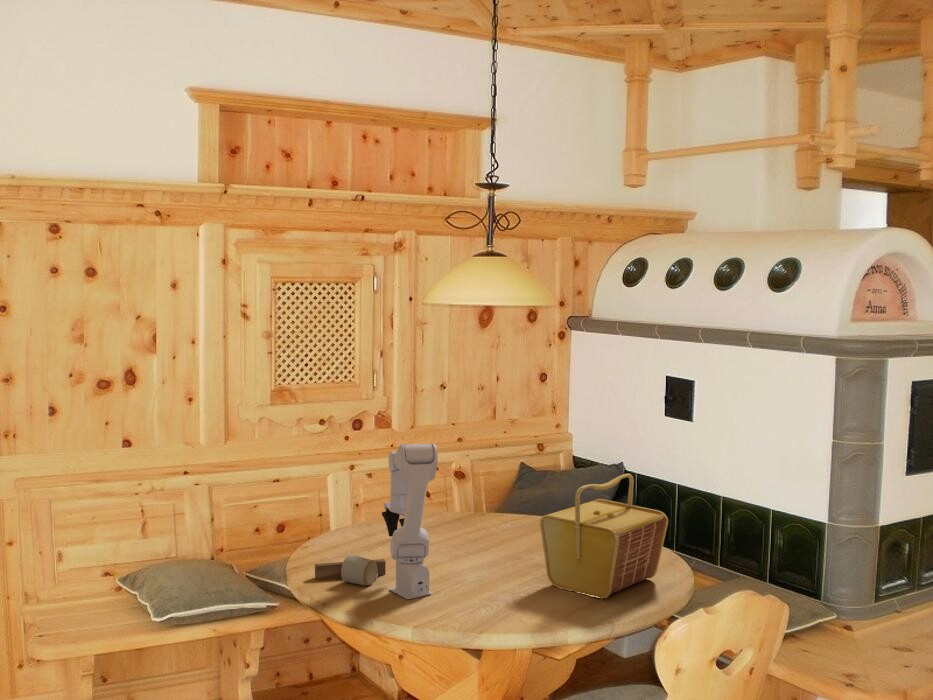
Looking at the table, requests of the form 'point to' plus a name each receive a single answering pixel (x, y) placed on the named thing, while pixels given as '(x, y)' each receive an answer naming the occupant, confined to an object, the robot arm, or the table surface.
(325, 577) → the rail
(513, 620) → the table surface
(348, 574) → the ceramic mug
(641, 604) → the table surface
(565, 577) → the picnic basket
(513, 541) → the table surface
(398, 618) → the table surface
